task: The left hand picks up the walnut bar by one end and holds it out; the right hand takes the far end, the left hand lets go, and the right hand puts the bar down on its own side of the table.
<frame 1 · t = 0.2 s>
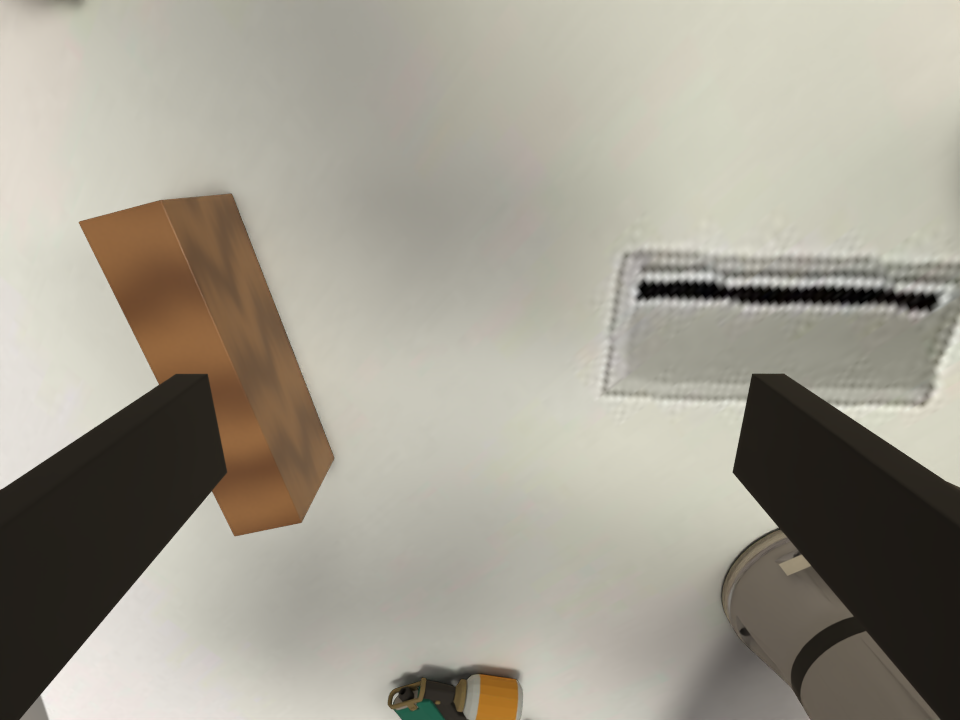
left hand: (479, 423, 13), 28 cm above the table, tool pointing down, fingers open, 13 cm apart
spray gun: (471, 713, 56), on the table
bar: (257, 345, 41), on the table
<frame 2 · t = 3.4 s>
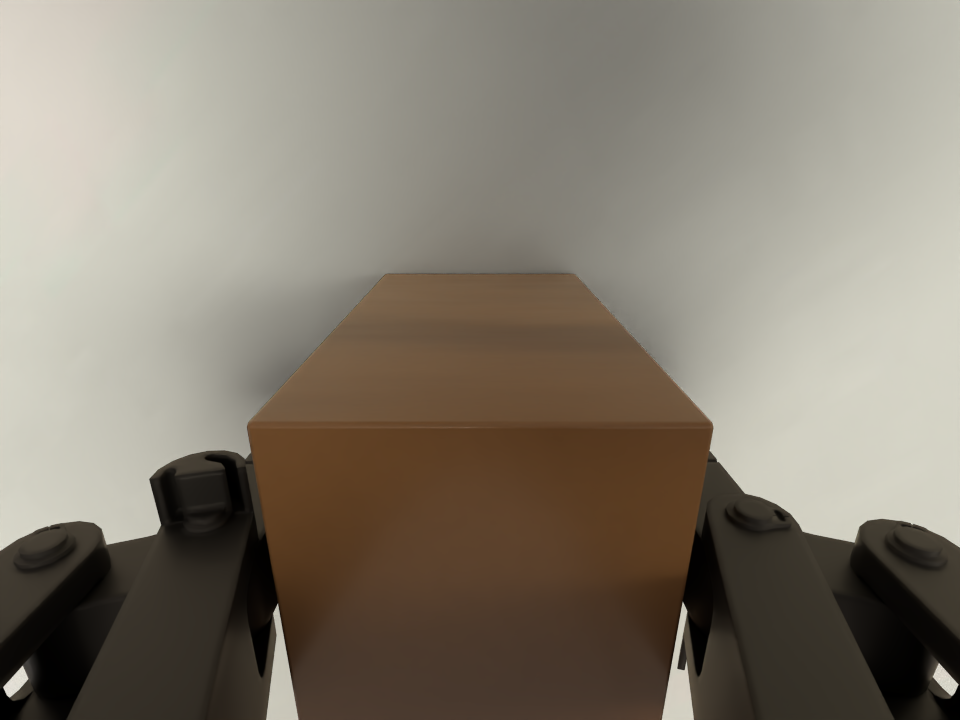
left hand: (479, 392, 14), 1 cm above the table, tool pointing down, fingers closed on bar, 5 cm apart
bar: (480, 598, 18), on the table, touching left hand
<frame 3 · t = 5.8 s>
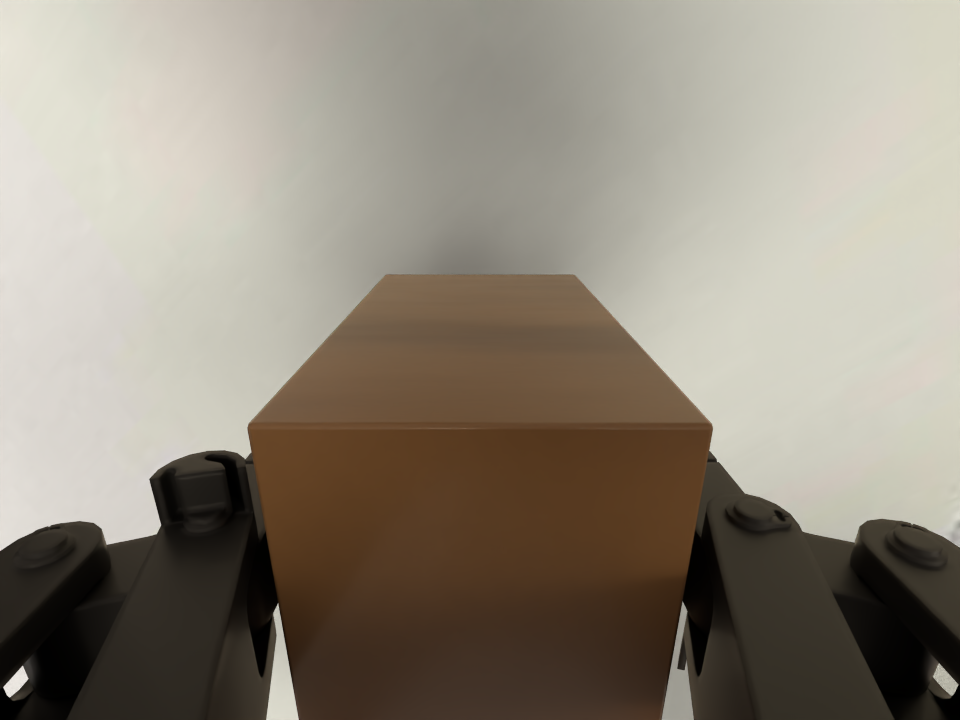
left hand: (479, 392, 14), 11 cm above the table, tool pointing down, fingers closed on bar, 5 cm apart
bar: (480, 599, 18), point 11 cm above the table, touching left hand
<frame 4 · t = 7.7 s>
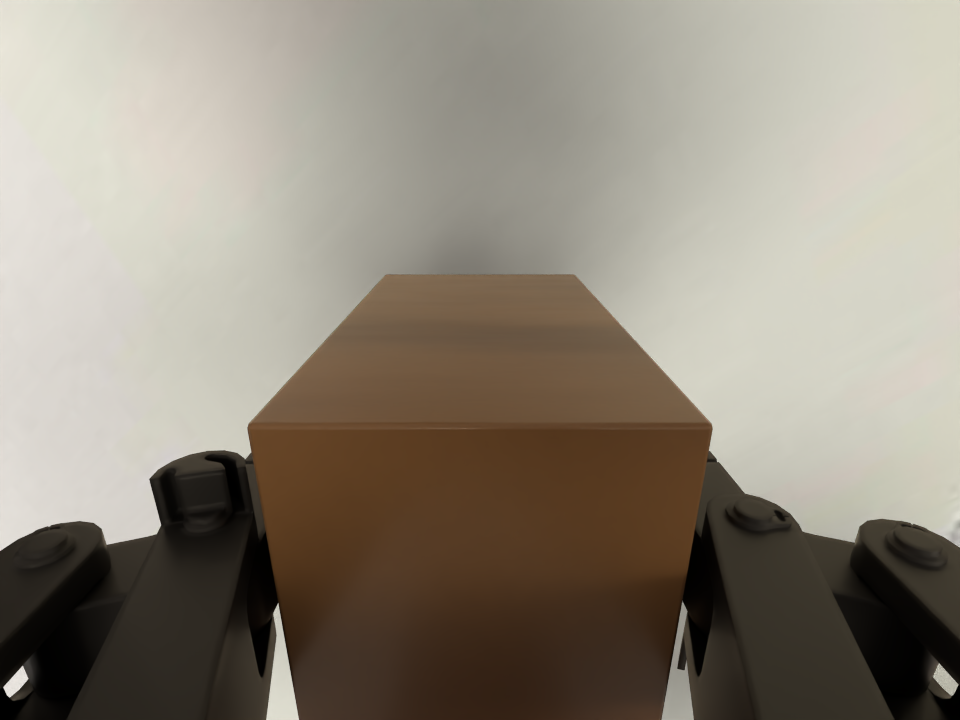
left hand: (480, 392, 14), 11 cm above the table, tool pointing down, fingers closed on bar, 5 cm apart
bar: (480, 598, 18), point 11 cm above the table, touching left hand, right hand
when the left hand's fingers open (11 cm above the table, at t = 8.4 s): bar stays where it is, held by the right hand.
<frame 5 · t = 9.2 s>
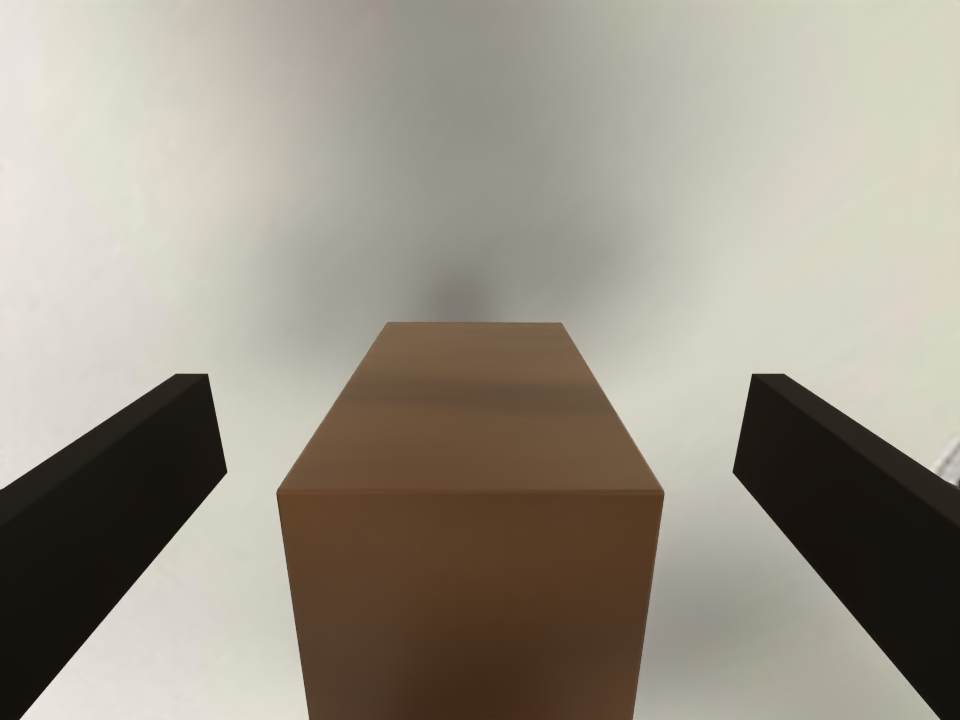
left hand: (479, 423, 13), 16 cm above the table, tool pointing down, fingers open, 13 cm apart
bar: (474, 622, 19), point 13 cm above the table, touching right hand
when the right hand's fingers open (2 cm above the table, at t = 12.6 s): bar drops 1 cm, on the table.
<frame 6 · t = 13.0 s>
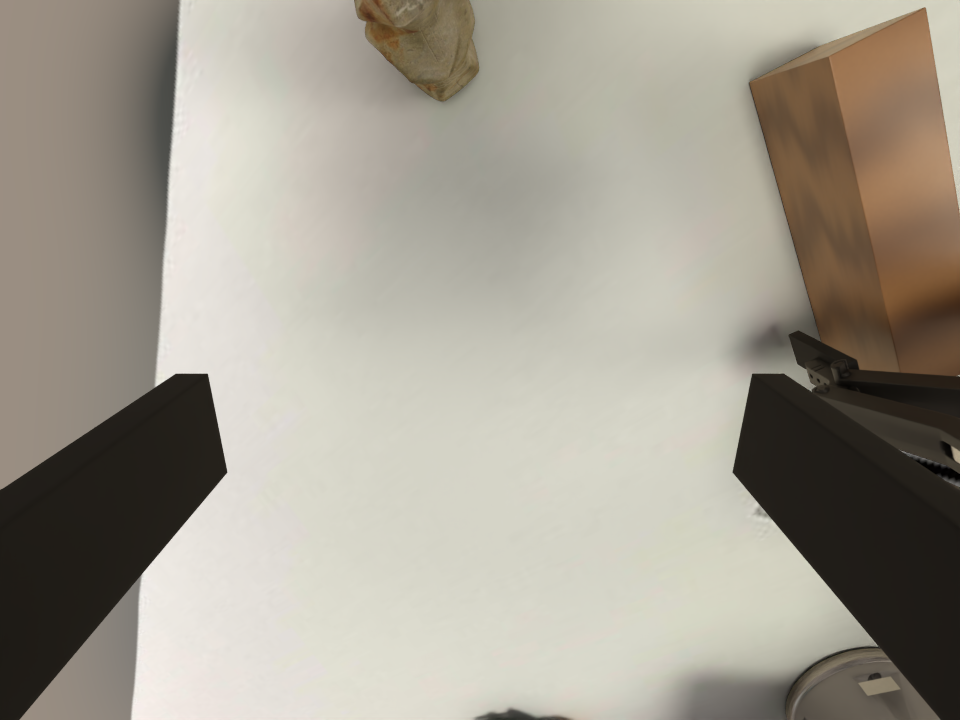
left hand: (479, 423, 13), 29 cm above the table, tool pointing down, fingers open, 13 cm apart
sculpture: (430, 49, 35), on the table
bar: (823, 214, 39), on the table
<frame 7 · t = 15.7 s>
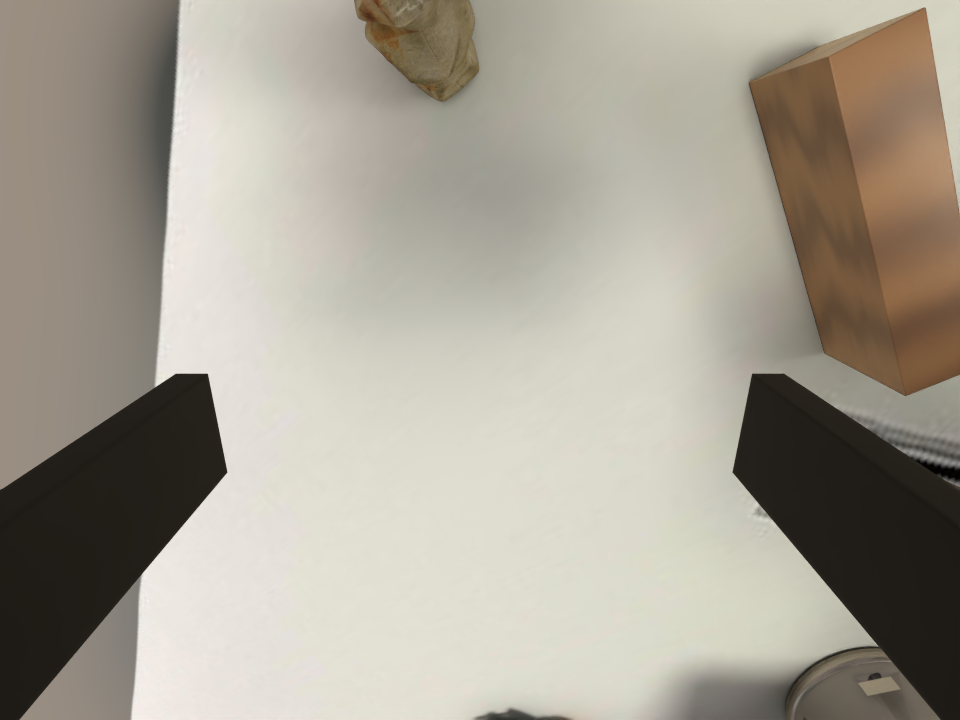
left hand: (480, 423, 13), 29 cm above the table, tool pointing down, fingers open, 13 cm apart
sculpture: (430, 49, 35), on the table
bar: (823, 214, 39), on the table
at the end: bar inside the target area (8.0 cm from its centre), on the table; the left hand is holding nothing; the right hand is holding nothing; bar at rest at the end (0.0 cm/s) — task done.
